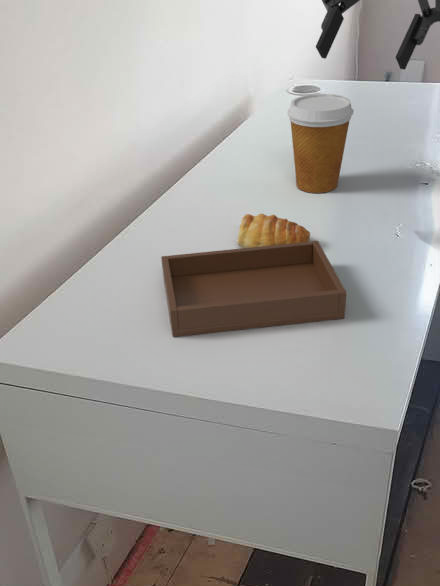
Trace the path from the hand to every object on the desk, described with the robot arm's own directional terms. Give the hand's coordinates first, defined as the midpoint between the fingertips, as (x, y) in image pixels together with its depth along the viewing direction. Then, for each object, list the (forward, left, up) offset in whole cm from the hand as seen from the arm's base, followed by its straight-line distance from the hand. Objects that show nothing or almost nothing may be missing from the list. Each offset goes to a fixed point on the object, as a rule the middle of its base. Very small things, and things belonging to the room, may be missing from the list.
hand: (359, 58), depth 107 cm
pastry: (+18, +26, -16) cm, 36 cm away
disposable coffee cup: (+7, +7, -16) cm, 19 cm away
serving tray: (+23, +40, -16) cm, 49 cm away
